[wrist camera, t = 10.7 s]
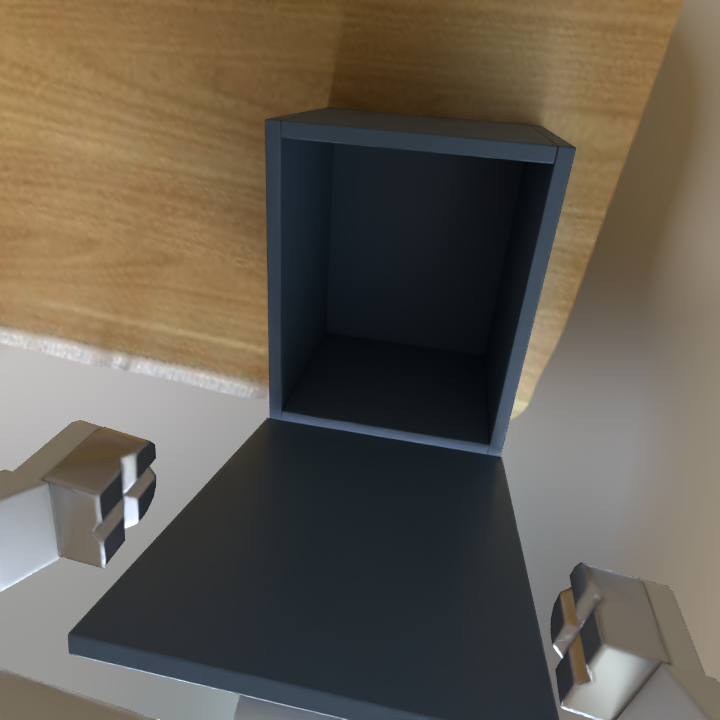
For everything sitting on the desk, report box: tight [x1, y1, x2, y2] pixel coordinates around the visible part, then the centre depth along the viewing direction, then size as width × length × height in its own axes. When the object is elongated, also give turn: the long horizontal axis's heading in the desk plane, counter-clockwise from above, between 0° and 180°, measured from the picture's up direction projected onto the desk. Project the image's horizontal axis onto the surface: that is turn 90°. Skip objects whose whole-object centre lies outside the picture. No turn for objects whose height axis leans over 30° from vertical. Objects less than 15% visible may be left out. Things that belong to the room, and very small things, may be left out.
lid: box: [68, 418, 559, 720], centre depth 24 cm, size 18×15×5 cm
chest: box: [265, 107, 576, 456], centre depth 34 cm, size 18×15×13 cm
